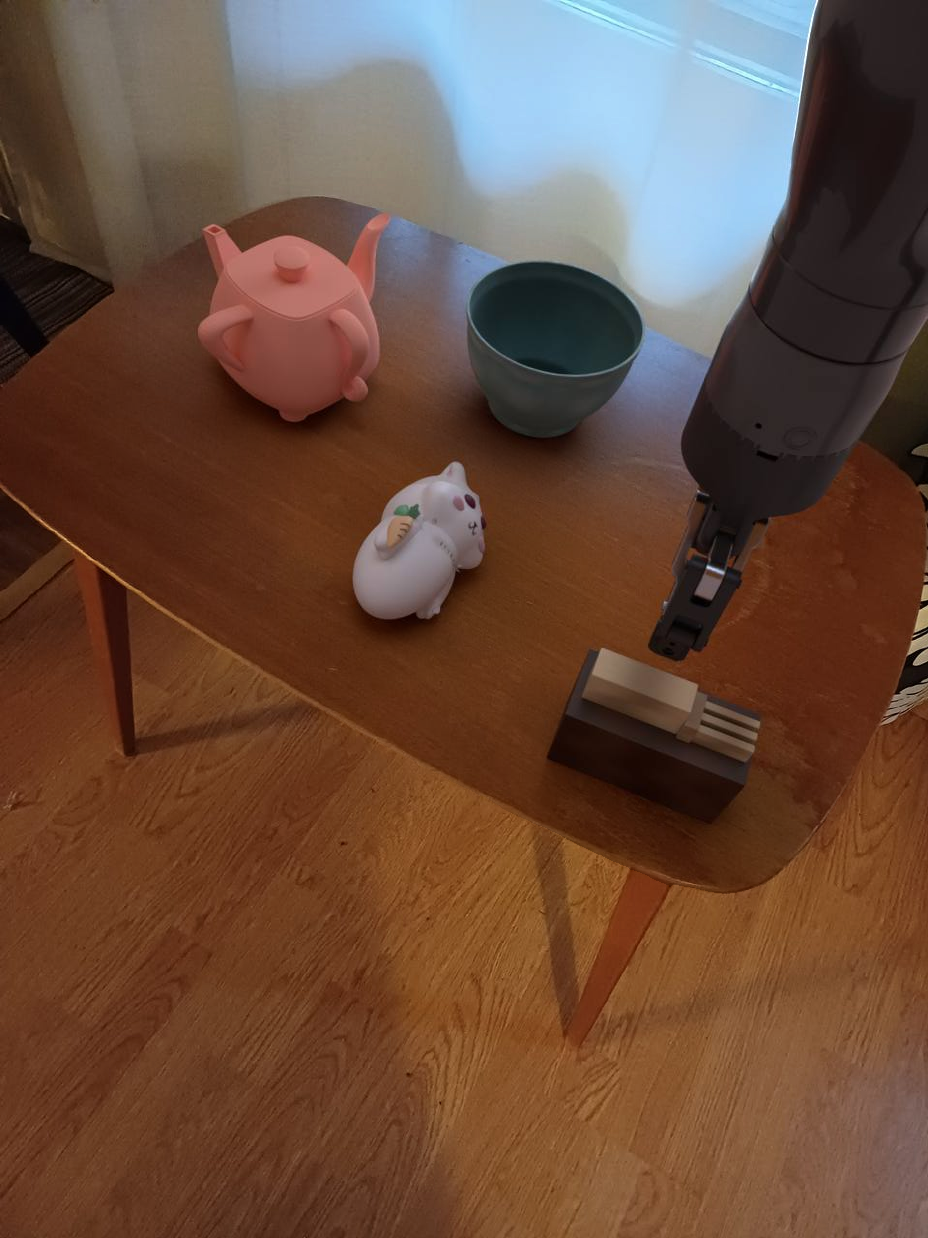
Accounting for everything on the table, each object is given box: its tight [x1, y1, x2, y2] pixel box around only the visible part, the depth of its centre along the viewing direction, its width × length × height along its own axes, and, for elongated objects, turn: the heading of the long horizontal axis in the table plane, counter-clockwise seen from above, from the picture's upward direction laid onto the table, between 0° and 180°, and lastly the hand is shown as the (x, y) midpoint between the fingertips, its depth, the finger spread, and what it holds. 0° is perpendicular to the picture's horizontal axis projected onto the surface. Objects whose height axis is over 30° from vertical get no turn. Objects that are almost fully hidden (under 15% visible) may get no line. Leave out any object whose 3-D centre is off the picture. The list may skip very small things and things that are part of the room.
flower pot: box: [465, 259, 647, 439], centre depth 87 cm, size 16×16×11 cm
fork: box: [582, 647, 761, 763], centre depth 64 cm, size 12×3×3 cm, turn 69°
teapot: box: [197, 212, 391, 423], centre depth 84 cm, size 16×17×14 cm
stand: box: [546, 647, 762, 825], centre depth 68 cm, size 13×6×7 cm, turn 69°
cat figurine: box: [352, 461, 487, 620], centre depth 75 cm, size 10×8×15 cm
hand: (683, 597), depth 55 cm, fingers open, 8 cm apart
